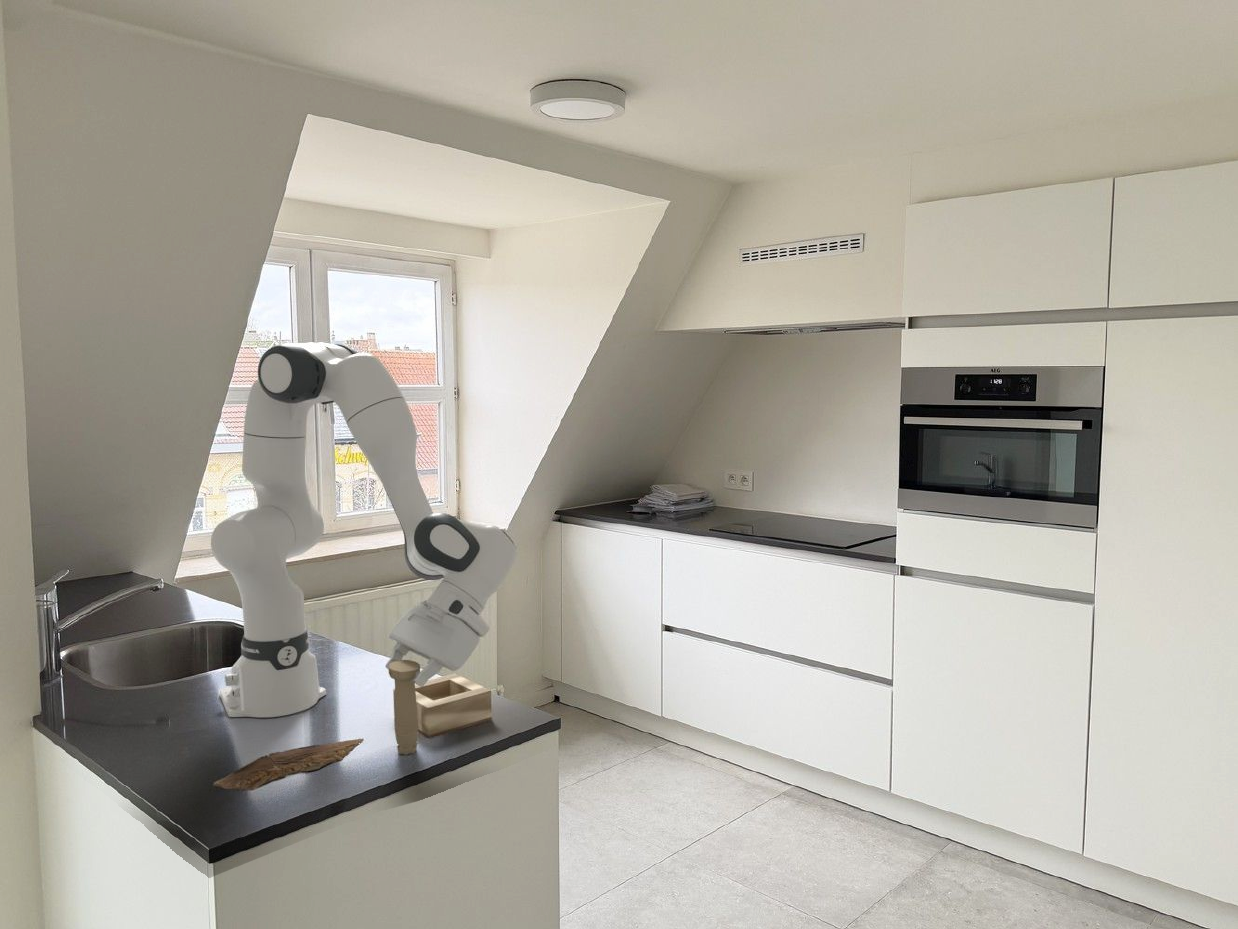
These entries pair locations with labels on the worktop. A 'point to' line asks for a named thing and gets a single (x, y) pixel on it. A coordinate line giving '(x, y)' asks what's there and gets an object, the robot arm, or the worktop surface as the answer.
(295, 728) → the worktop surface
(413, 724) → the handle
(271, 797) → the worktop surface
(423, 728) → the socket block
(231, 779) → the wooden fragment
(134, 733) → the worktop surface
